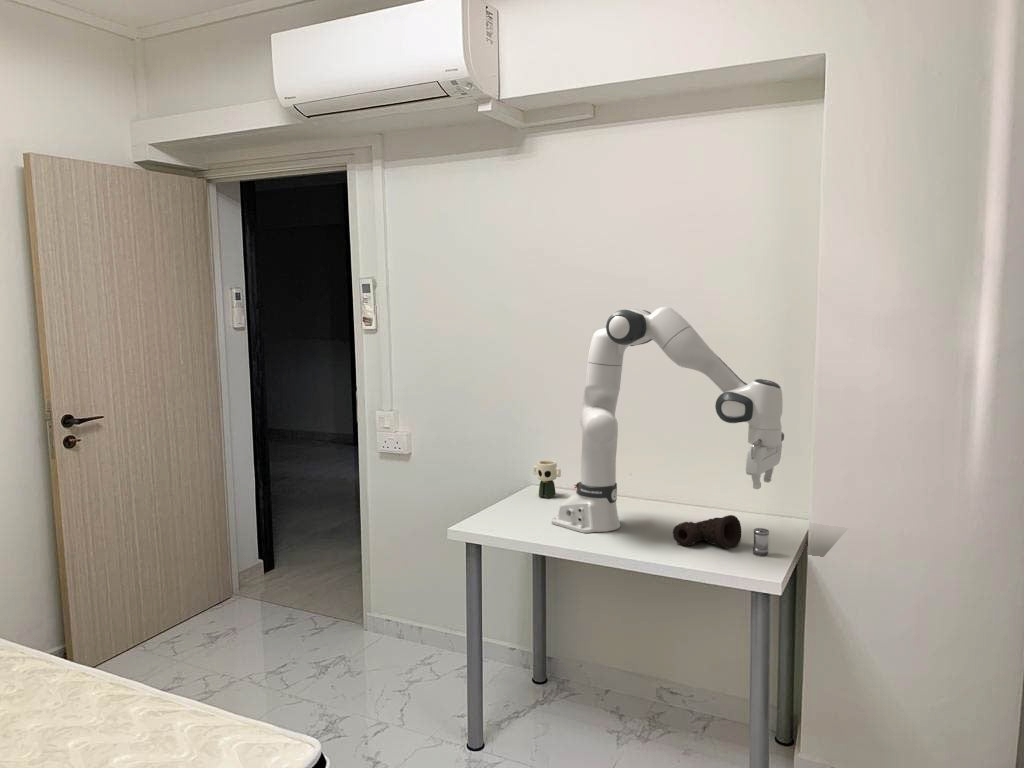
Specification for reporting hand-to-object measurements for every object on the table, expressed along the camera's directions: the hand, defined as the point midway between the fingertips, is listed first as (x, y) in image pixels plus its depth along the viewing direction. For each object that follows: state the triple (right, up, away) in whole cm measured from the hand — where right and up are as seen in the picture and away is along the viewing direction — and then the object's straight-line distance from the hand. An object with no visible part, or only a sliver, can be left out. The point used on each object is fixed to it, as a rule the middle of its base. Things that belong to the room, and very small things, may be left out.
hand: (762, 485), depth 220 cm
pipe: (-12, -20, +12) cm, 26 cm away
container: (0, -20, +3) cm, 20 cm away
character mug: (-58, -13, +67) cm, 89 cm away
